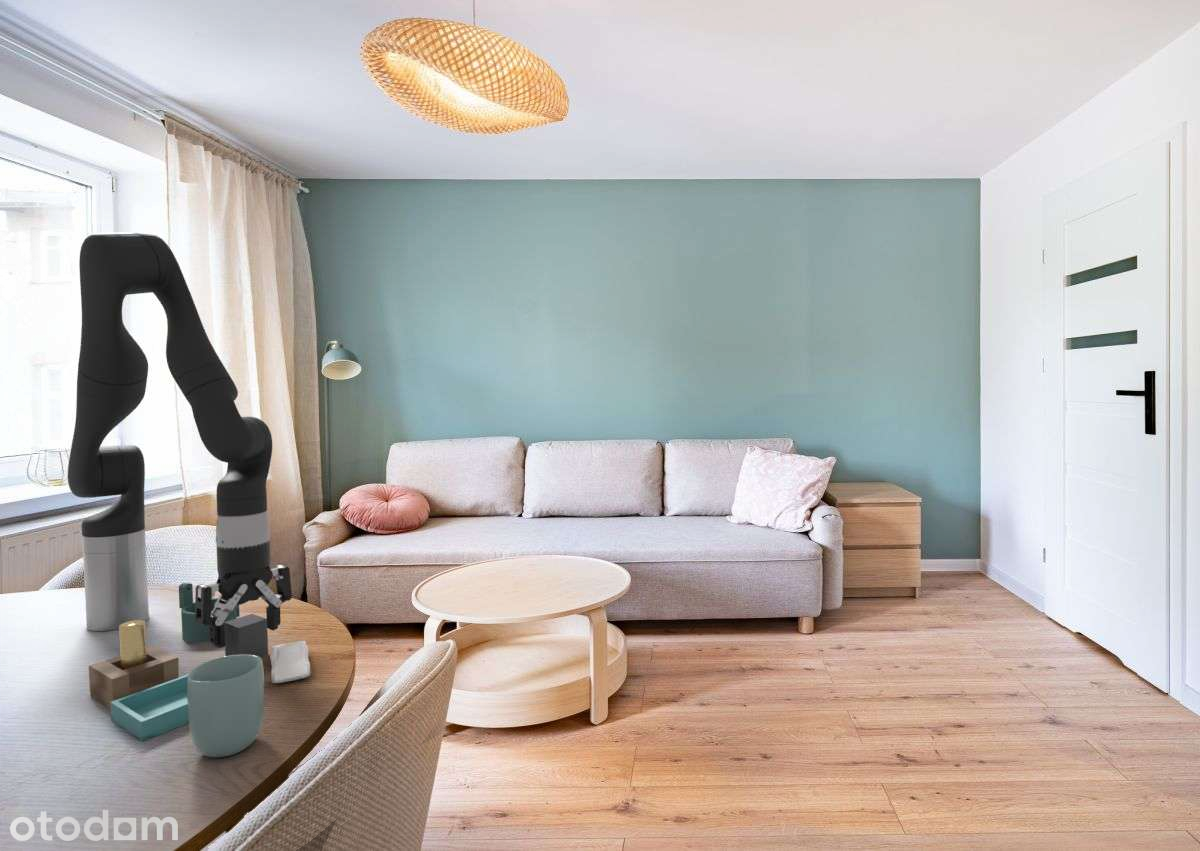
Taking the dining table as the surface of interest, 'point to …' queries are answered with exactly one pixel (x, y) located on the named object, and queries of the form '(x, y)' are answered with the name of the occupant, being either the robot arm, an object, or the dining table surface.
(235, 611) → the bracket
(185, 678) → the tray
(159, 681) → the socket
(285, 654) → the toy car
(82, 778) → the dining table surface
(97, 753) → the dining table surface
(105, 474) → the robot arm
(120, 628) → the pin
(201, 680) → the cup
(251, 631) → the dark grey block
